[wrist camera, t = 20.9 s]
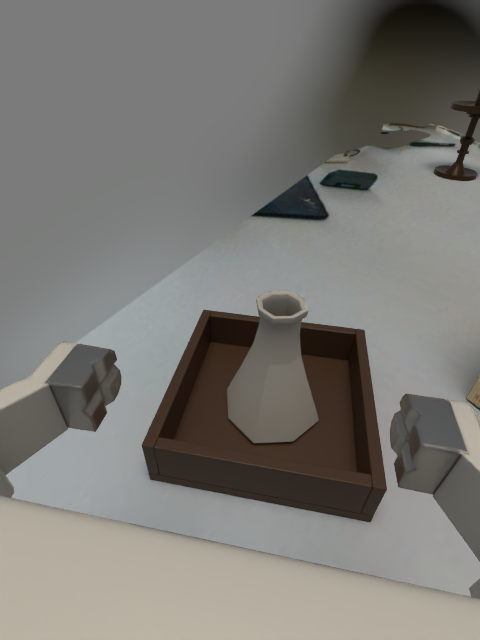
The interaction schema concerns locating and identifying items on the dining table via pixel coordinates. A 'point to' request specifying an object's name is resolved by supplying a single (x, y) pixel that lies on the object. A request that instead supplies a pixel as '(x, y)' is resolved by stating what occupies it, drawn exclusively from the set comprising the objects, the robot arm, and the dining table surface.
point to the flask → (274, 375)
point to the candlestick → (463, 143)
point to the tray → (276, 457)
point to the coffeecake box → (475, 393)
